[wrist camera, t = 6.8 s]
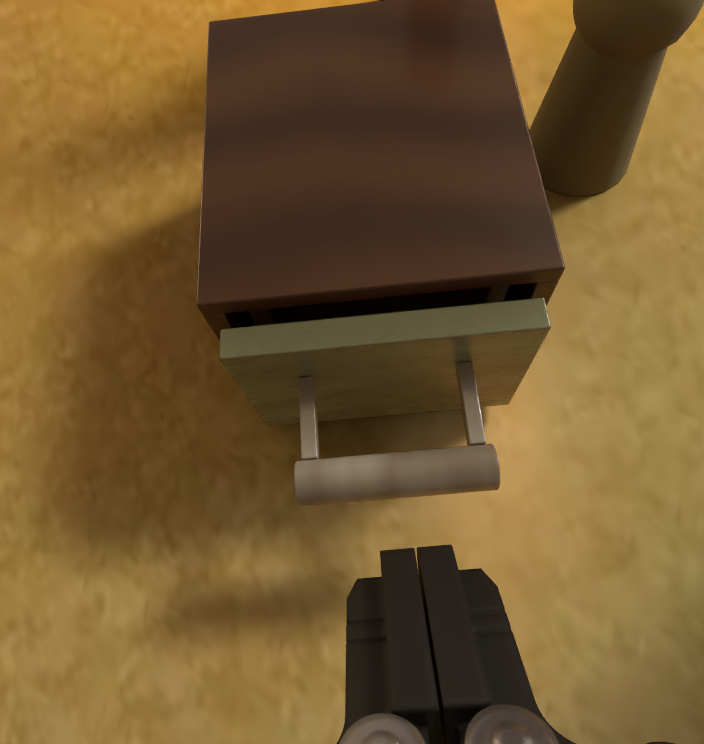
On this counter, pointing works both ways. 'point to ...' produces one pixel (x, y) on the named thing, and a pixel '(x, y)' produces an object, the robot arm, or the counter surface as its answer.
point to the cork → (604, 90)
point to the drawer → (388, 382)
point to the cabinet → (367, 161)
